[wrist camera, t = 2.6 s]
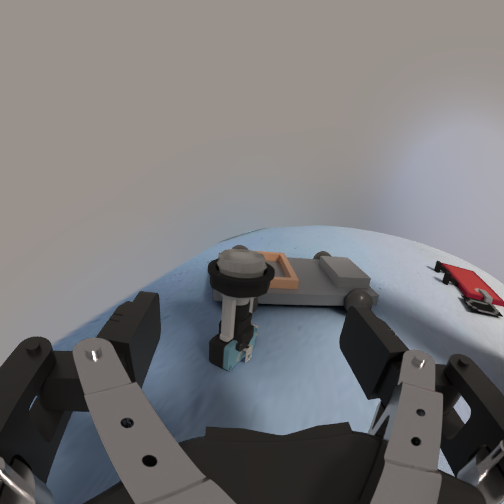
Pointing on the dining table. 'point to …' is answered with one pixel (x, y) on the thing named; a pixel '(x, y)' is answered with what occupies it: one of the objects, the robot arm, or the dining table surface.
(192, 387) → the dining table surface
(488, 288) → the red board with handle
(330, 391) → the dining table surface
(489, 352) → the dining table surface
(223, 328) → the push button
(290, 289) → the chassis
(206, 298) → the dining table surface
